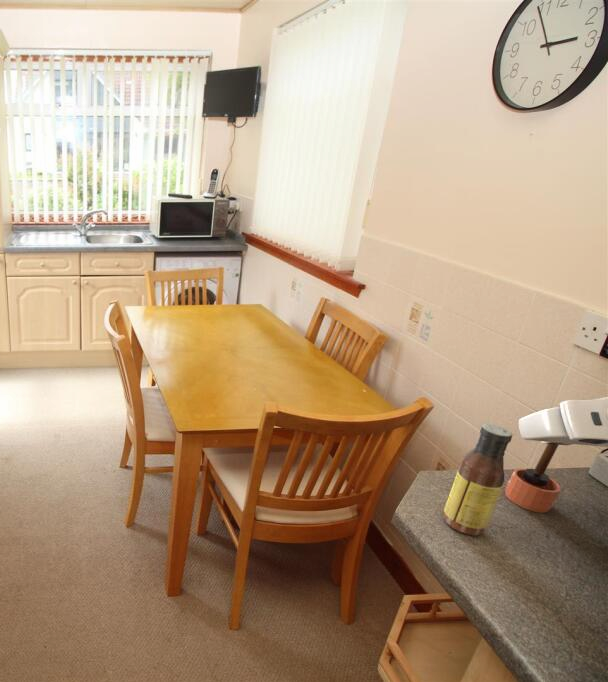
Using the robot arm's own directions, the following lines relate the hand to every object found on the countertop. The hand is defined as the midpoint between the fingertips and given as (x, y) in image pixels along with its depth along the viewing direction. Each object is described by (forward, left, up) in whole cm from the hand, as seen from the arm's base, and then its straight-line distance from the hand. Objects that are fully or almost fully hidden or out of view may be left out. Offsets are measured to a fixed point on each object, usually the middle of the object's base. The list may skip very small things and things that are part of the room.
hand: (551, 440), depth 88 cm
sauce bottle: (+19, +6, -14) cm, 24 cm away
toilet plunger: (0, +1, -9) cm, 9 cm away
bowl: (0, +1, -14) cm, 14 cm away
